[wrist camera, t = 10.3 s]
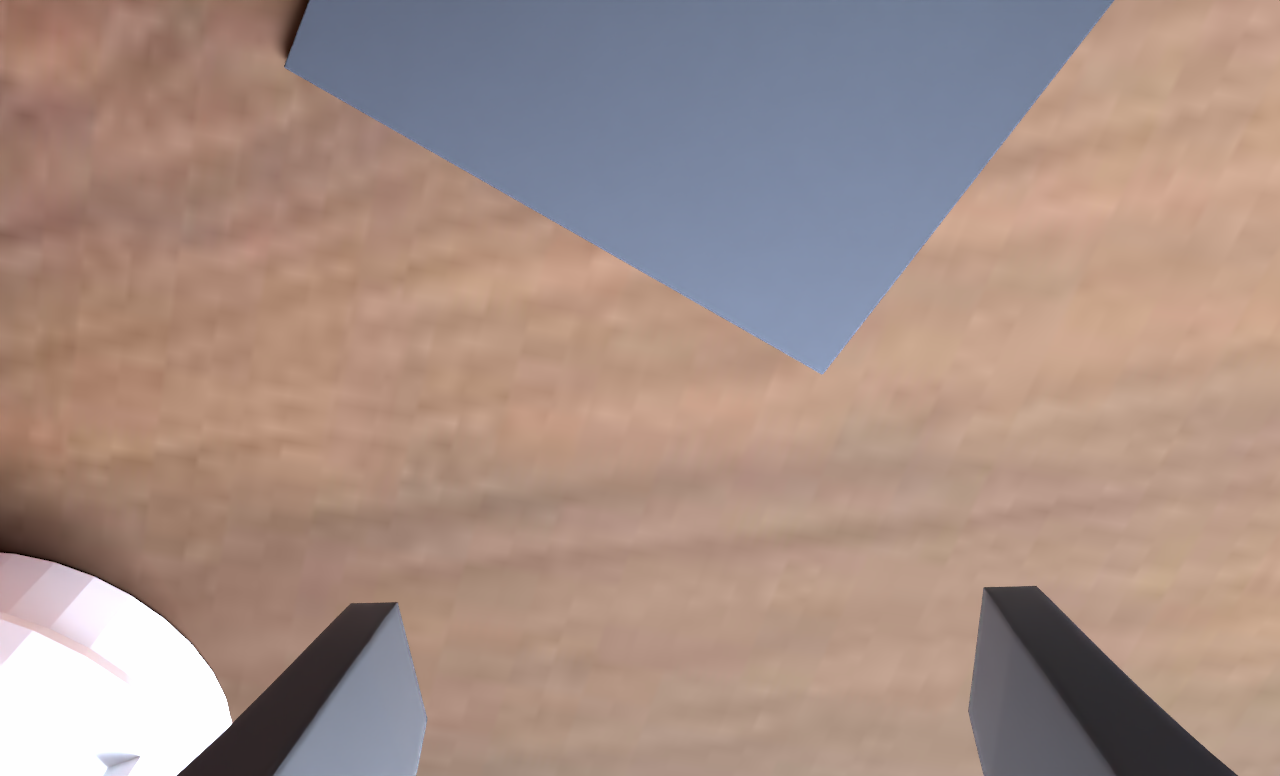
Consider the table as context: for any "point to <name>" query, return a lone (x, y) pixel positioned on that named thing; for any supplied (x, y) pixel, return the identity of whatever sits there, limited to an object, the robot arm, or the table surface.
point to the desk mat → (713, 127)
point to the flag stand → (96, 680)
